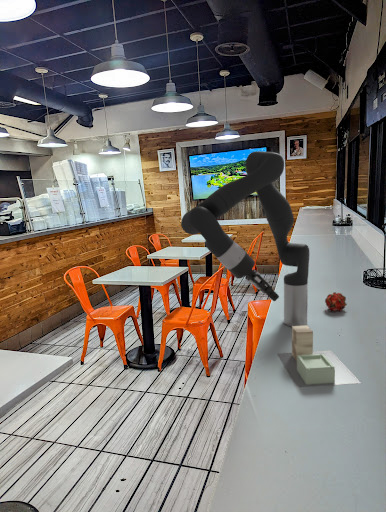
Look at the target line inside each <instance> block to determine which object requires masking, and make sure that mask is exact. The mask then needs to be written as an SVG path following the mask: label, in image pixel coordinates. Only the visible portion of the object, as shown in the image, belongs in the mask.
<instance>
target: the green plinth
mask: <svg viewBox="0 0 386 512" xmlns="http://www.w3.org/2000/svg"><path fill="white" fill-rule="evenodd" d="M334 368H335V367H334V366H333V364H332V363H331V362H330V361H329V360H328V359H327V357H326V356H325V355H324V354H321V355H320V354H310V355H301V356H300V355H297V371H298V372H299V374H300V376H301V377H302V379H303V380H304V382H305V383H306V385H307V384H322V383H335V369H334Z"/></svg>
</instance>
